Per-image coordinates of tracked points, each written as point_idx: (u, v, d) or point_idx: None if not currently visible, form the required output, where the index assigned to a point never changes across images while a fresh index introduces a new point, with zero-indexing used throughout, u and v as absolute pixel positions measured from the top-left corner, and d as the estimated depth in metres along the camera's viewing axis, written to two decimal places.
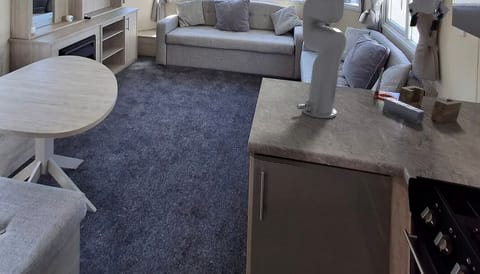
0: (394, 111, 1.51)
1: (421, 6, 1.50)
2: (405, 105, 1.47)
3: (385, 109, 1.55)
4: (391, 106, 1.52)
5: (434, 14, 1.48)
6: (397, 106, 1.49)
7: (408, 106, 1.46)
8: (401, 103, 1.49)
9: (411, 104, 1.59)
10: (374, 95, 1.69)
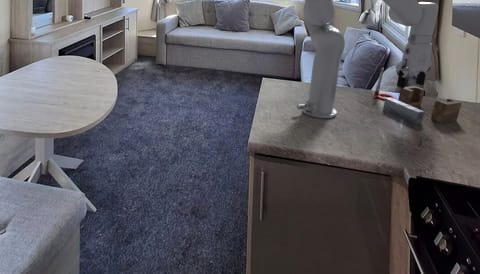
0: (394, 111, 1.51)
1: (419, 66, 1.39)
2: (405, 105, 1.47)
3: (385, 109, 1.55)
4: (391, 106, 1.52)
5: None
6: (397, 106, 1.49)
7: (408, 106, 1.46)
8: (401, 103, 1.49)
9: (411, 104, 1.59)
10: (374, 95, 1.69)
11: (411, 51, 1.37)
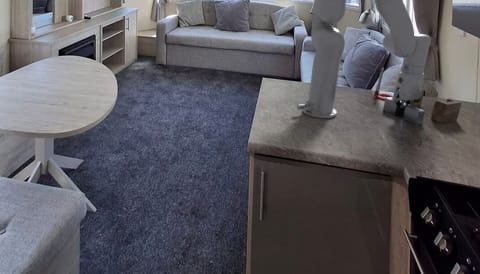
0: (394, 111, 1.51)
1: (412, 94, 1.44)
2: (405, 104, 1.47)
3: (386, 108, 1.55)
4: (391, 106, 1.52)
5: (412, 100, 1.47)
6: None
7: (408, 105, 1.46)
8: None
9: None
10: (374, 95, 1.69)
11: (404, 80, 1.41)
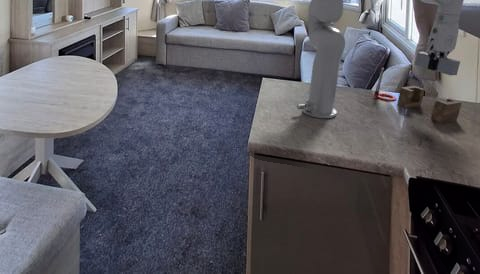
0: (427, 64, 1.49)
1: (446, 45, 1.41)
2: (439, 57, 1.45)
3: (417, 63, 1.53)
4: (424, 60, 1.50)
5: (446, 53, 1.45)
6: None
7: (442, 57, 1.44)
8: None
9: (411, 104, 1.59)
10: (374, 95, 1.69)
11: (439, 30, 1.39)
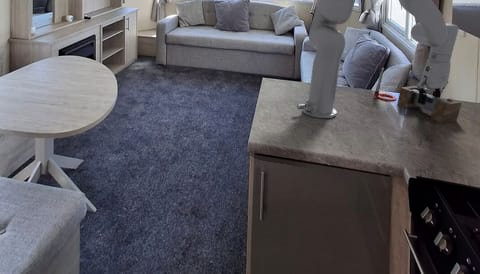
0: (419, 103, 1.55)
1: (438, 83, 1.48)
2: (430, 96, 1.52)
3: None
4: (416, 98, 1.56)
5: (441, 88, 1.52)
6: None
7: (433, 97, 1.51)
8: (426, 94, 1.54)
9: (411, 104, 1.59)
10: (374, 95, 1.69)
11: (431, 69, 1.45)
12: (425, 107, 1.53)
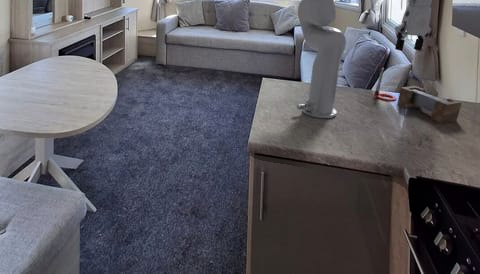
0: (419, 103, 1.55)
1: (418, 29, 1.44)
2: (430, 96, 1.52)
3: None
4: (416, 98, 1.56)
5: (423, 35, 1.48)
6: (423, 97, 1.53)
7: (433, 97, 1.51)
8: (426, 94, 1.54)
9: (411, 104, 1.59)
10: (374, 95, 1.69)
11: (411, 13, 1.42)
12: (425, 107, 1.53)
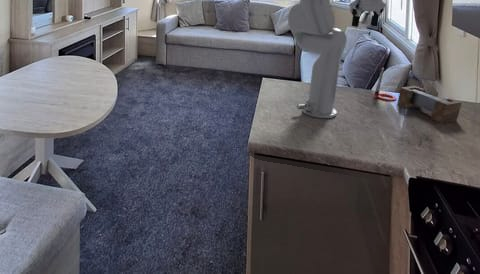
0: (419, 103, 1.55)
1: (372, 5, 1.49)
2: (430, 96, 1.52)
3: None
4: (416, 98, 1.56)
5: (378, 11, 1.53)
6: (423, 97, 1.53)
7: (433, 97, 1.51)
8: (426, 94, 1.54)
9: (411, 104, 1.59)
10: (374, 95, 1.69)
11: None
12: (425, 107, 1.53)
